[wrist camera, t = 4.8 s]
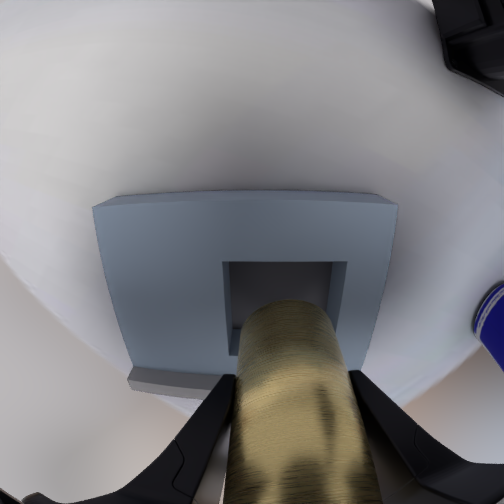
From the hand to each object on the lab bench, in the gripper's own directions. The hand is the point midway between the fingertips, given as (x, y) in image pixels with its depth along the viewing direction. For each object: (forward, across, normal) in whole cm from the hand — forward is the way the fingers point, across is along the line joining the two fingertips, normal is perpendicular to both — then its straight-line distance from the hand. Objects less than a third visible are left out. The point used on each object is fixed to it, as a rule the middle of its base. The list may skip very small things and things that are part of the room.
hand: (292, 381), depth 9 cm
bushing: (+2, 0, 0) cm, 2 cm away
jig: (+7, +2, 0) cm, 7 cm away
